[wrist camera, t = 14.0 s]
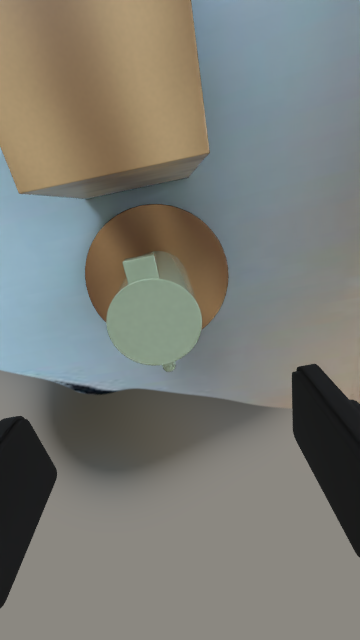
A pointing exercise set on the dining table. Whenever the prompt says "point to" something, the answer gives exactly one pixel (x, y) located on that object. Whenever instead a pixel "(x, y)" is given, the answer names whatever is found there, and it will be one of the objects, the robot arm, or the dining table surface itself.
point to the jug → (154, 311)
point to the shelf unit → (99, 95)
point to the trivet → (157, 235)
